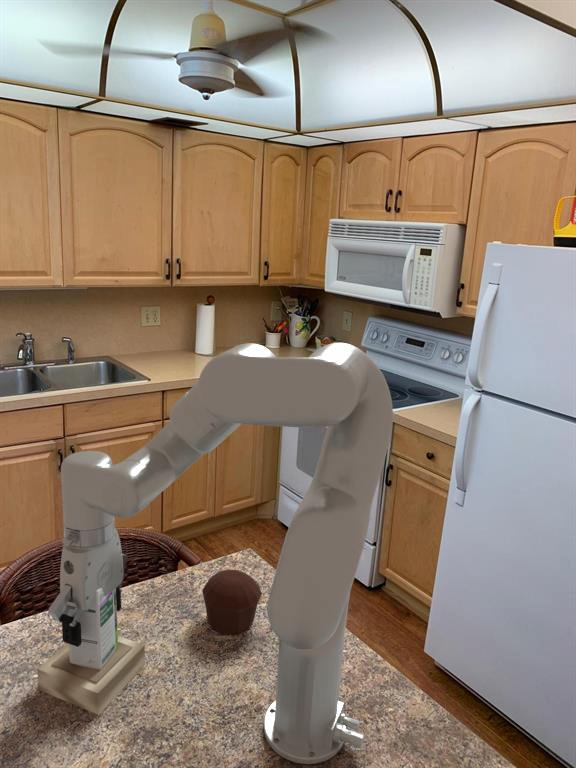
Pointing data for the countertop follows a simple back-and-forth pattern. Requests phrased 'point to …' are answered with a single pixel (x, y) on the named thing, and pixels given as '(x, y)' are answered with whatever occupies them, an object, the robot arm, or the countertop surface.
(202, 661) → the countertop surface
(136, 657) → the base block
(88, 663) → the syrup box
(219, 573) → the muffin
